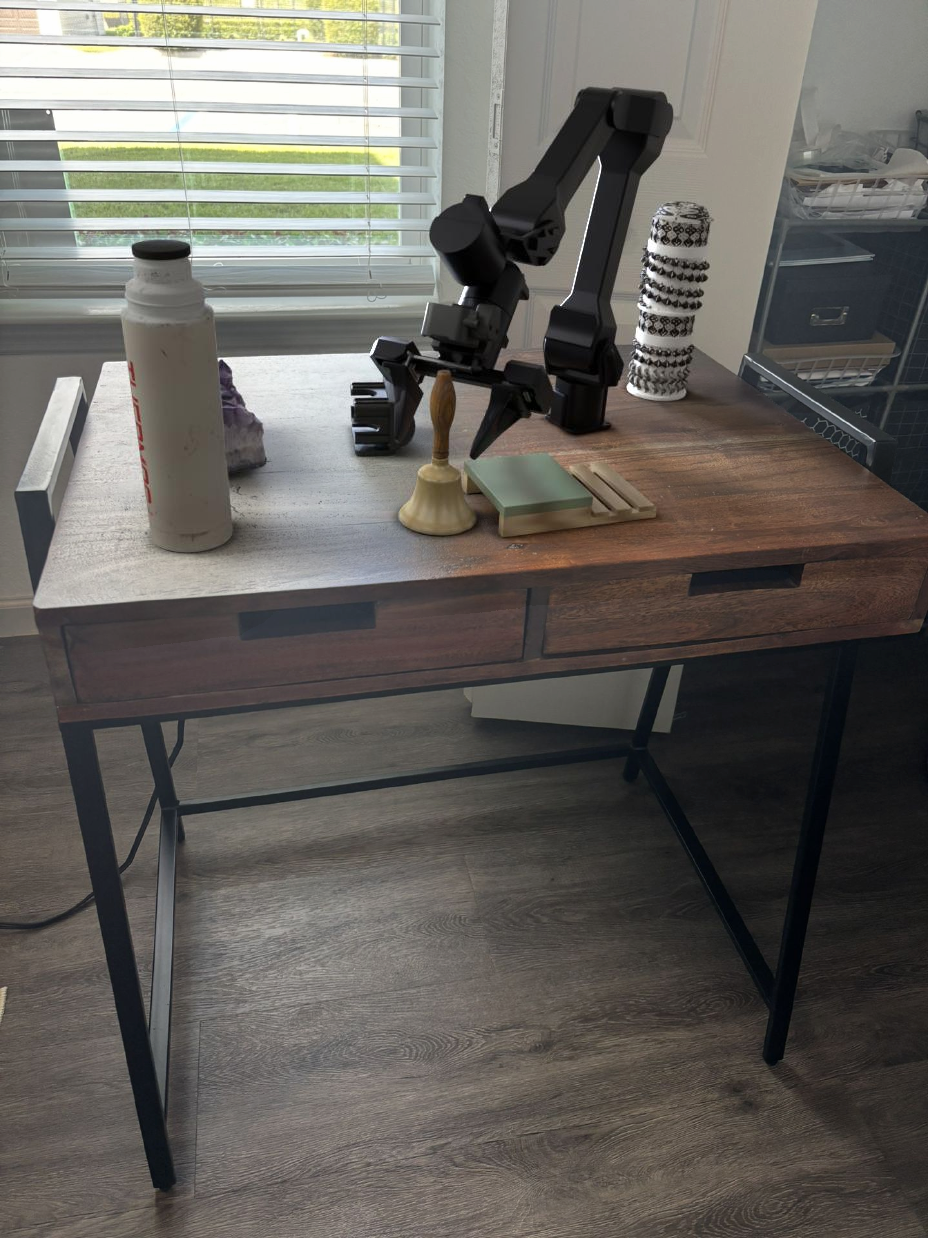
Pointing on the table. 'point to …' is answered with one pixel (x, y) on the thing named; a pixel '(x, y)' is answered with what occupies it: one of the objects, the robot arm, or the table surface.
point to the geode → (239, 427)
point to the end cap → (375, 419)
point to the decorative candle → (669, 301)
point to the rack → (552, 493)
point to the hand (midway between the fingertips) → (434, 449)
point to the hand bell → (439, 475)
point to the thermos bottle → (176, 399)
